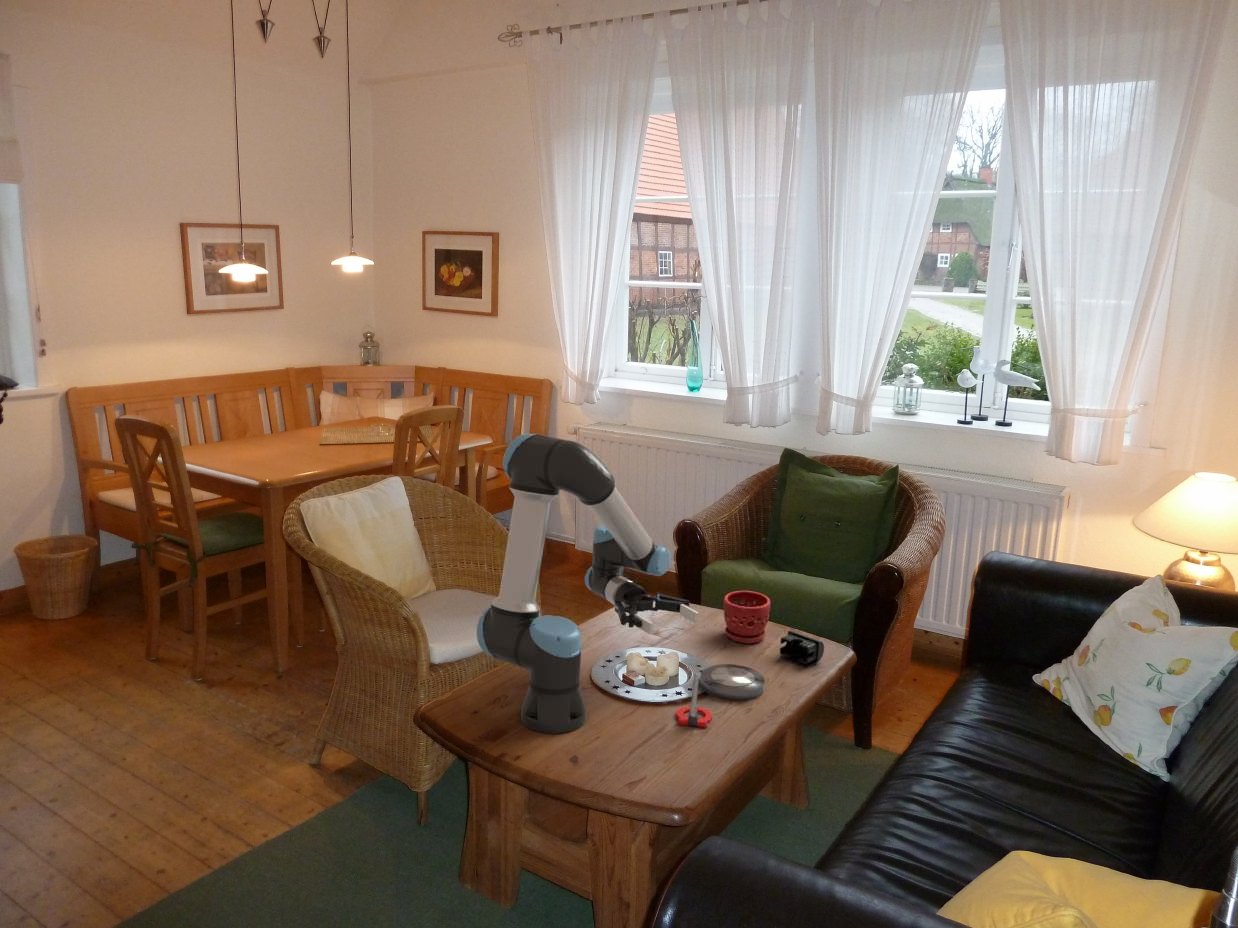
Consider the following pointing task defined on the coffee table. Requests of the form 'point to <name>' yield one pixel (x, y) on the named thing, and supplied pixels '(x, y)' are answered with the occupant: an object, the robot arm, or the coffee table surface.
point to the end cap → (801, 649)
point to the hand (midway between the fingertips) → (674, 623)
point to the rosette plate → (732, 682)
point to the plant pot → (746, 616)
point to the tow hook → (694, 710)
